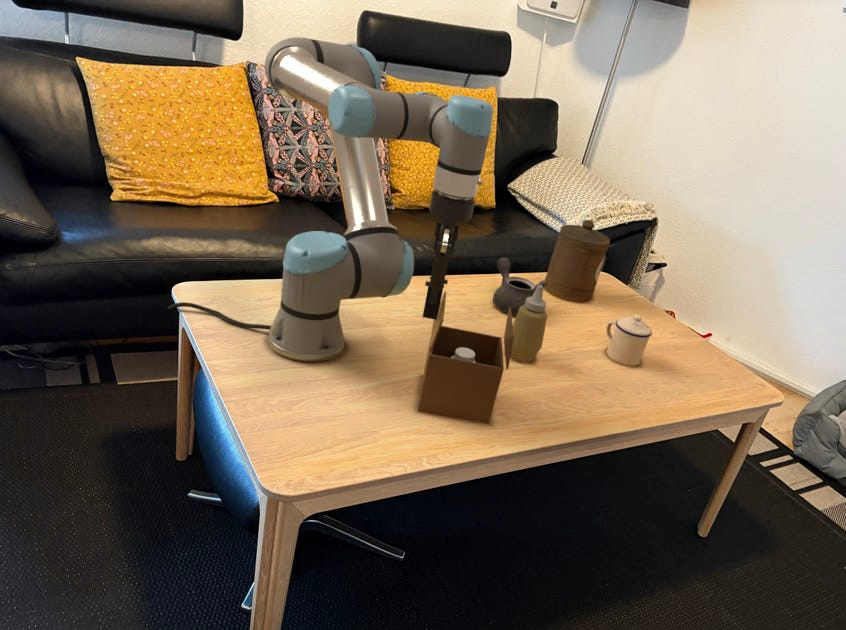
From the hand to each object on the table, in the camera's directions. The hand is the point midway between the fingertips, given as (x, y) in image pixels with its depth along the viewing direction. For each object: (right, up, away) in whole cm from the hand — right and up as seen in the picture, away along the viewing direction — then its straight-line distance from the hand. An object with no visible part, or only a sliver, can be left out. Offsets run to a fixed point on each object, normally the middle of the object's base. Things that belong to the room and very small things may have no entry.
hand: (429, 316), depth 126 cm
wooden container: (+35, +12, +75) cm, 83 cm away
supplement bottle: (+4, -15, +9) cm, 19 cm away
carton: (+4, -16, +9) cm, 19 cm away
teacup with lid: (+44, -7, +44) cm, 63 cm away
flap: (+2, -1, +1) cm, 2 cm away
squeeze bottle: (+19, -7, +32) cm, 38 cm away
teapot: (+18, +7, +58) cm, 61 cm away
